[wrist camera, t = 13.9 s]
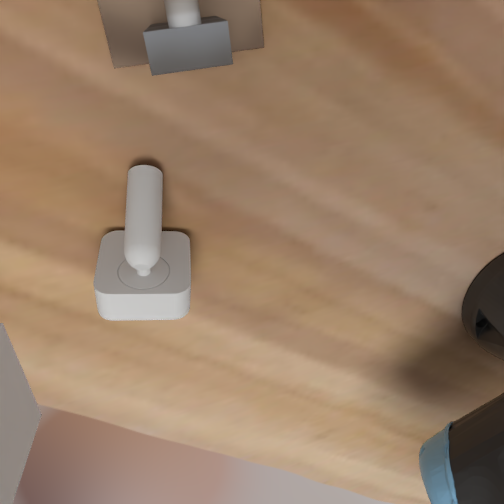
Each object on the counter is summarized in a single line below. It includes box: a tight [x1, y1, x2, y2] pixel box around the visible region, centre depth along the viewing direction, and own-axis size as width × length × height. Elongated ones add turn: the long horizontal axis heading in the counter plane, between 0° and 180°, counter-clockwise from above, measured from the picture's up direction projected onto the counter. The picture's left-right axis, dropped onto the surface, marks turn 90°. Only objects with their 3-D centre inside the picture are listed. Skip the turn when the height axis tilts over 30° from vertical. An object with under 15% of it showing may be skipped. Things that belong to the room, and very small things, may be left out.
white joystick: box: [94, 165, 191, 320], centre depth 41 cm, size 8×10×10 cm
